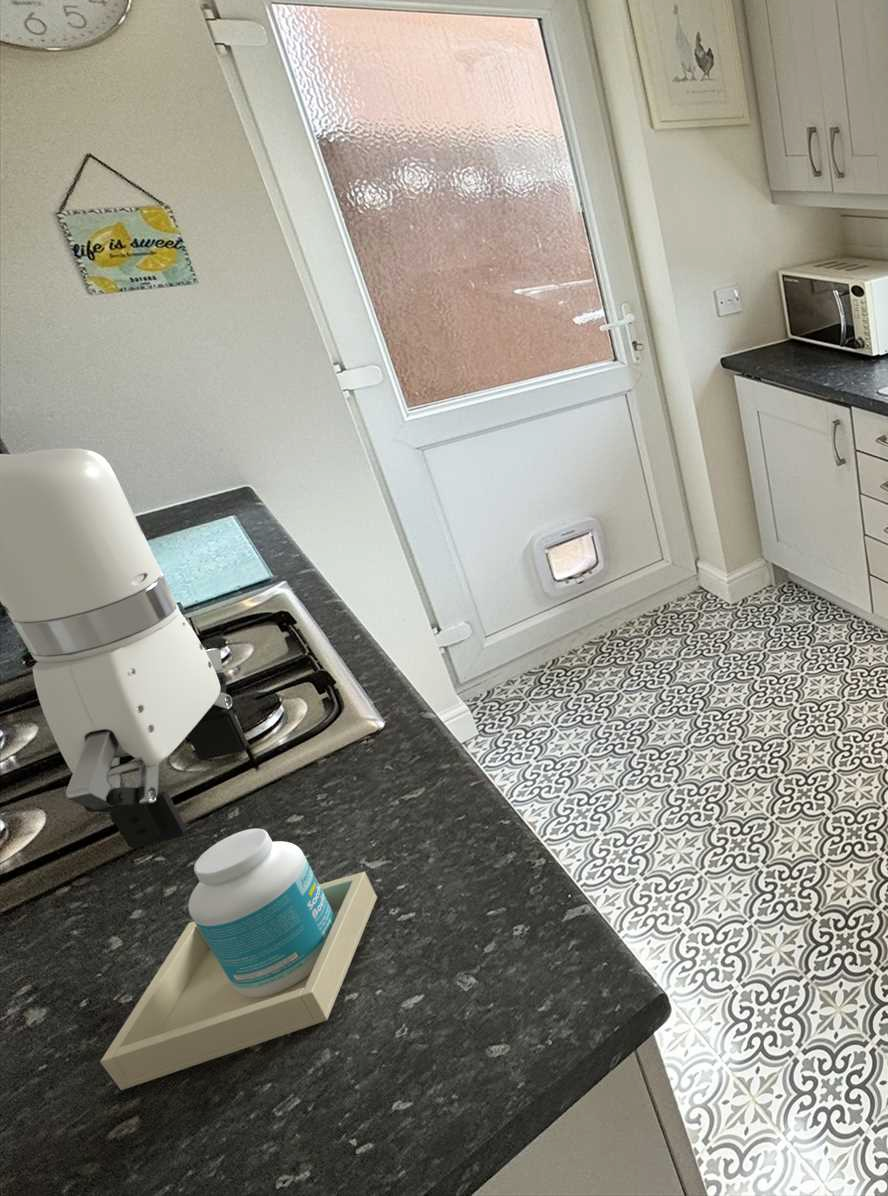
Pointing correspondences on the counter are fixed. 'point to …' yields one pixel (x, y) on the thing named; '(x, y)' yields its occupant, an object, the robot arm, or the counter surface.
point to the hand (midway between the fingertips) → (194, 793)
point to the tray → (231, 998)
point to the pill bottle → (260, 911)
